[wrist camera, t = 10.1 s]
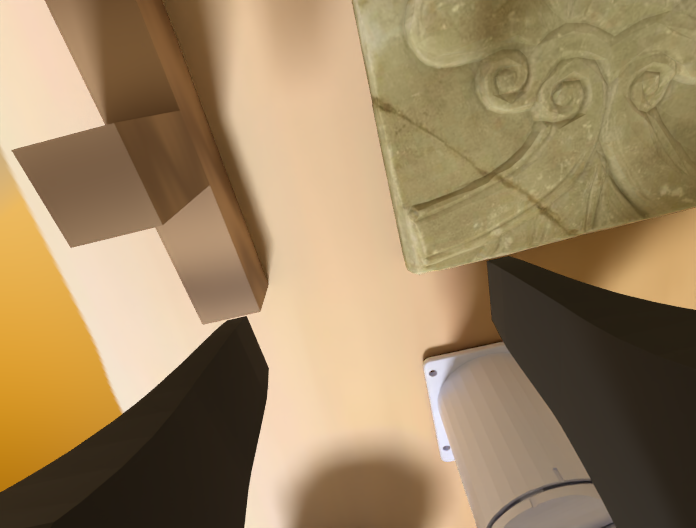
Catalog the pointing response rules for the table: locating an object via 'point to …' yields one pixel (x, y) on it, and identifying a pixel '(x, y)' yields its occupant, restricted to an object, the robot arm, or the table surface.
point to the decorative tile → (529, 119)
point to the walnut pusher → (146, 157)
